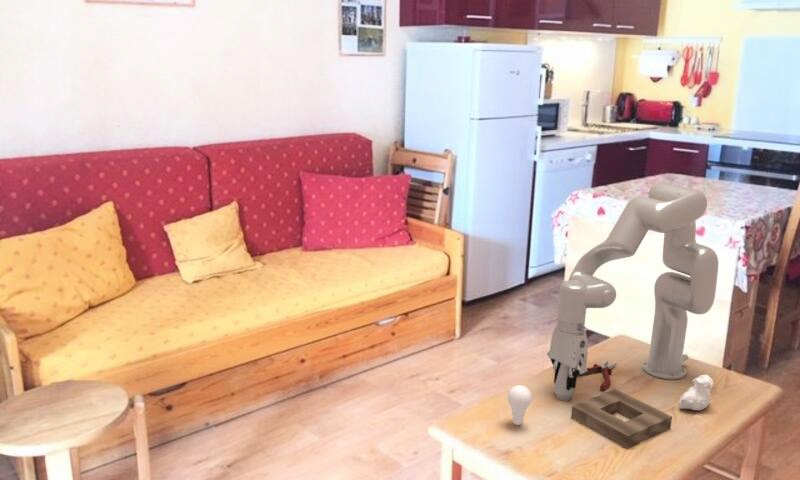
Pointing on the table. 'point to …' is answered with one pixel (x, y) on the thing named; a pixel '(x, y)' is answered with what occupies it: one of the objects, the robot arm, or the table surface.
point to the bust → (697, 394)
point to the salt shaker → (563, 384)
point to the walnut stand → (626, 433)
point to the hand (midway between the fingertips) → (564, 385)
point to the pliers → (604, 369)
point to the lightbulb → (519, 402)
